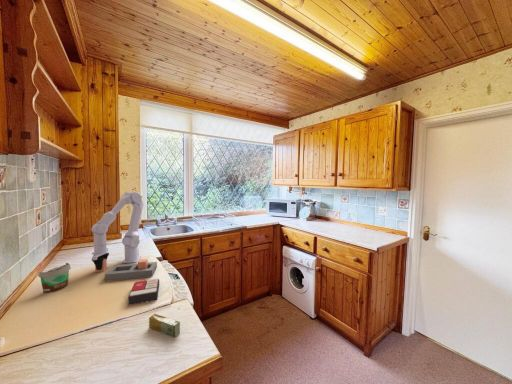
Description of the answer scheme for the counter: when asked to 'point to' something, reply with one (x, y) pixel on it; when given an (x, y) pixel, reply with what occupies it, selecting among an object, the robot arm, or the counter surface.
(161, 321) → the medication box
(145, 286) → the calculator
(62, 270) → the food container
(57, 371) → the counter surface
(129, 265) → the dock
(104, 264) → the plug
